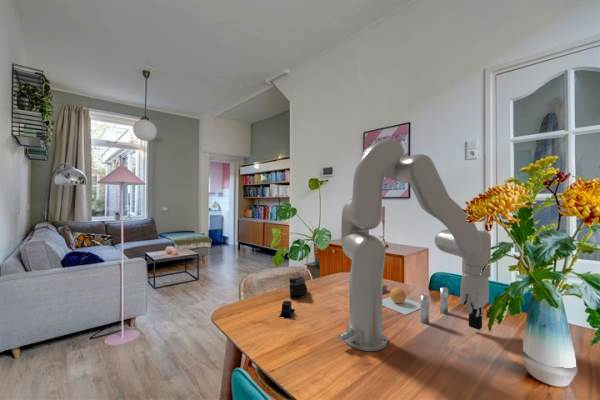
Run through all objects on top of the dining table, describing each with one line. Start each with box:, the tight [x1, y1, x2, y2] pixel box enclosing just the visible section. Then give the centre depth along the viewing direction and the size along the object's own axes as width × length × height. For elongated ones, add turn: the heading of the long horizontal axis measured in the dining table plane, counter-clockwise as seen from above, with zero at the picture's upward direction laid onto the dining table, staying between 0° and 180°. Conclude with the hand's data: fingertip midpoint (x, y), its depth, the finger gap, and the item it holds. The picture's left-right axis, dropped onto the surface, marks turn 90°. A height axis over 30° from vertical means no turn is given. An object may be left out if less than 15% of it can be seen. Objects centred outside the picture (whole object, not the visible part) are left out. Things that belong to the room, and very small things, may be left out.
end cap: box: [289, 276, 308, 300], centre depth 118 cm, size 10×7×7 cm
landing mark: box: [382, 296, 421, 316], centre depth 108 cm, size 14×14×1 cm
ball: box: [389, 287, 407, 304], centre depth 109 cm, size 6×6×6 cm
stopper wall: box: [382, 283, 388, 293], centre depth 119 cm, size 18×2×2 cm, turn 126°
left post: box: [420, 294, 430, 325], centre depth 93 cm, size 3×3×9 cm
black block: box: [278, 300, 296, 320], centre depth 100 cm, size 12×7×5 cm, turn 172°
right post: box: [439, 286, 449, 315], centre depth 100 cm, size 3×3×9 cm
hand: (475, 327), depth 86 cm, fingers closed
